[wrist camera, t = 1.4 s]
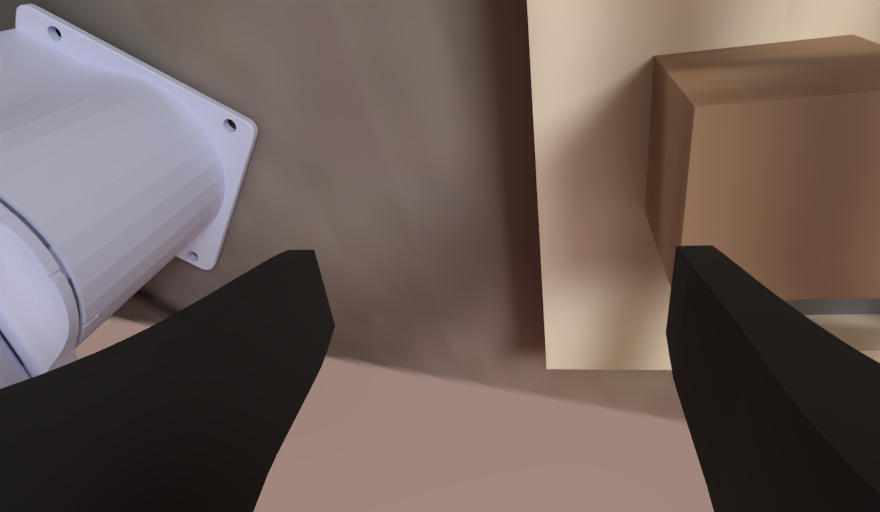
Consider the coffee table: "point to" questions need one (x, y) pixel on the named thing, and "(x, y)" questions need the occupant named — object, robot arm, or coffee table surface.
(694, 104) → the block
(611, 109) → the trap board
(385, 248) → the coffee table surface
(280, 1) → the coffee table surface
